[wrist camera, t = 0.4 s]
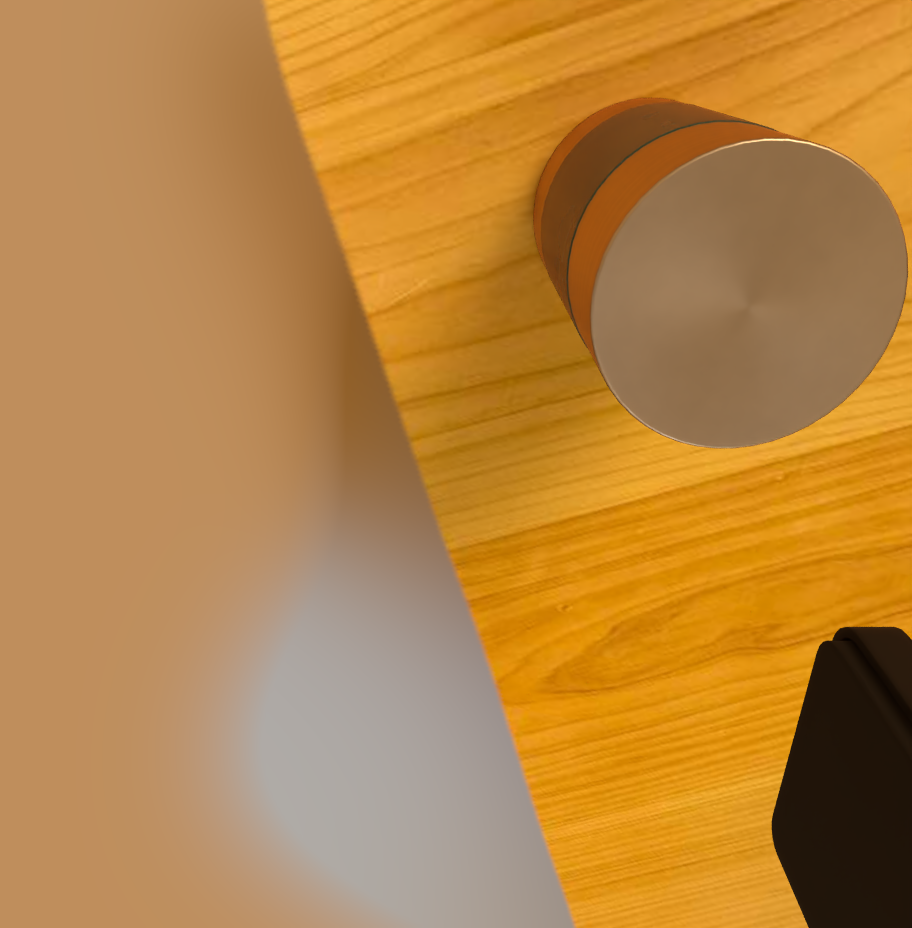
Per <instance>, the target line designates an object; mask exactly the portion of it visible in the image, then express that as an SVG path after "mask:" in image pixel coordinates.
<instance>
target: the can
mask: <svg viewBox="0 0 912 928" xmlns="http://www.w3.org/2000/svg"><path fill="white" fill-rule="evenodd" d="M533 221H534V234H535V239H536V243H537V248H538V251H539V253H540V256H541V259H542V261H543V263H544V265H545V267H546V269H547V271H548V274H549V277H550V279H551V281H552V283H553V285H554V287H555V288H556V290H557V292H558V294H559V296H560V298H561V300H562V302H563V304H564V306H565V308H566V310H567V312H568V313H569V315H570V317H571V319H572V321H573V323H574V325H575V327H576V329H577V331H578V333H579V335H580V337H581V339H582V340H583V342H584V344H585V345H586V347H587V348H588V350H589V351H590V353H591V355H592V357H593V359H594V361H595V363H596V365H597V366H598V368H599V370H600V372H601V374H602V376H603V378H604V380H605V382H606V384H607V386H608V387H609V389H610V390H611V392H612V393H613V395H614V396H615V397H616V399H617V400H618V401H619V403H620V404H621V405H622V406H623V407H624V408H625V409H626V410H627V411H628V412H629V413H630V414H631V415H632V416H633V417H634V418H636V419H637V420H638V421H640V422H641V423H642V424H644V425H645V426H646V427H648V428H650V429H652V430H653V431H655V432H657V433H659V434H661V435H663V436H665V437H668V438H670V439H673V440H675V441H678V442H682V443H686V444H690V445H694V446H700V447H709V448H739V447H747V446H754V445H758V444H763V443H767V442H771V441H774V440H777V439H780V438H782V437H785V436H788V435H791V434H793V433H795V432H797V431H799V430H801V429H803V428H805V427H807V426H809V425H811V424H813V423H814V422H816V421H817V420H819V419H821V418H822V417H824V416H825V415H827V414H828V413H830V412H831V411H832V410H833V409H835V408H836V407H837V406H839V405H840V404H841V403H842V402H844V401H845V400H846V399H847V398H848V397H849V396H850V395H851V394H852V393H853V392H854V391H855V390H856V389H857V388H858V387H859V386H860V385H861V383H862V382H863V381H864V380H865V379H866V378H867V376H868V375H869V374H870V373H871V372H872V370H873V369H874V367H875V366H876V364H877V363H878V361H879V360H880V358H881V357H882V355H883V354H884V352H885V350H886V348H887V346H888V344H889V342H890V340H891V338H892V336H893V334H894V332H895V329H896V326H897V324H898V321H899V318H900V316H901V312H902V308H903V304H904V300H905V295H906V287H907V278H908V257H907V250H906V243H905V237H904V233H903V230H902V227H901V224H900V220H899V217H898V215H897V213H896V211H895V209H894V207H893V205H892V203H891V201H890V199H889V197H888V196H887V194H886V193H885V192H884V190H883V189H882V187H881V186H880V185H879V183H878V182H877V181H876V180H875V179H874V178H873V177H872V176H871V175H870V174H869V173H868V172H867V171H866V170H865V169H864V168H863V167H861V166H860V165H859V164H857V163H856V162H854V161H853V160H852V159H850V158H849V157H847V156H846V155H843V154H841V153H839V152H837V151H835V150H833V149H831V148H829V147H827V146H823V145H820V144H817V143H814V142H811V141H808V140H804V139H801V138H798V137H794V136H791V135H788V134H784V133H781V132H778V131H776V130H774V129H772V128H769V127H766V126H762V125H759V124H756V123H753V122H749V121H746V120H743V119H739V118H736V117H733V116H729V115H726V114H722V113H719V112H716V111H712V110H709V109H706V108H702V107H699V106H695V105H691V104H685V103H681V102H678V101H675V100H669V99H663V98H640V99H632V100H627V101H624V102H620V103H616V104H614V105H611V106H609V107H607V108H604V109H602V110H600V111H598V112H597V113H595V114H593V115H592V116H590V117H588V118H587V119H586V120H584V121H583V122H582V123H580V124H579V125H578V126H576V127H575V128H574V129H573V130H572V131H571V132H570V133H569V134H568V135H567V136H566V137H565V138H564V140H563V141H562V142H561V143H560V145H559V146H558V147H557V148H556V150H555V151H554V153H553V155H552V156H551V158H550V160H549V161H548V163H547V165H546V167H545V169H544V172H543V174H542V176H541V179H540V182H539V185H538V189H537V193H536V198H535V204H534V219H533Z"/></svg>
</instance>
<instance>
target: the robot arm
mask: <svg viewBox="0 0 912 928" xmlns="http://www.w3.org/2000/svg"><path fill="white" fill-rule="evenodd" d="M772 836H773V842H774V846H775V849H776V852H777V855H778V857H779V860H780V862H781V864H782V867H783V869H784V871H785V874H786V876H787V878H788V881H789V883H790V885H791V888H792V890H793V892H794V895H795V897H796V899H797V901H798V904H799V906H800V908H801V911H802V913H803V915H804V918H805V920H806V922H807V925H808V927H809V928H912V640H911V639H910V637H909V636H908V635H907V634H906V633H905V632H904V631H903V630H901V629H899V628H896V627H844V628H840V629H839V630H838V631H837V632H836V633H835V635H834V638H833V640H832V641H825V642H823V643H822V644H821V645H820V646H819V649H818V651H817V654H816V658H815V662H814V665H813V669H812V673H811V676H810V680H809V684H808V687H807V691H806V695H805V698H804V702H803V706H802V709H801V713H800V717H799V721H798V724H797V728H796V732H795V735H794V739H793V743H792V746H791V750H790V754H789V757H788V761H787V765H786V768H785V772H784V776H783V779H782V783H781V787H780V791H779V794H778V798H777V802H776V805H775V809H774V813H773V817H772Z"/></svg>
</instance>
